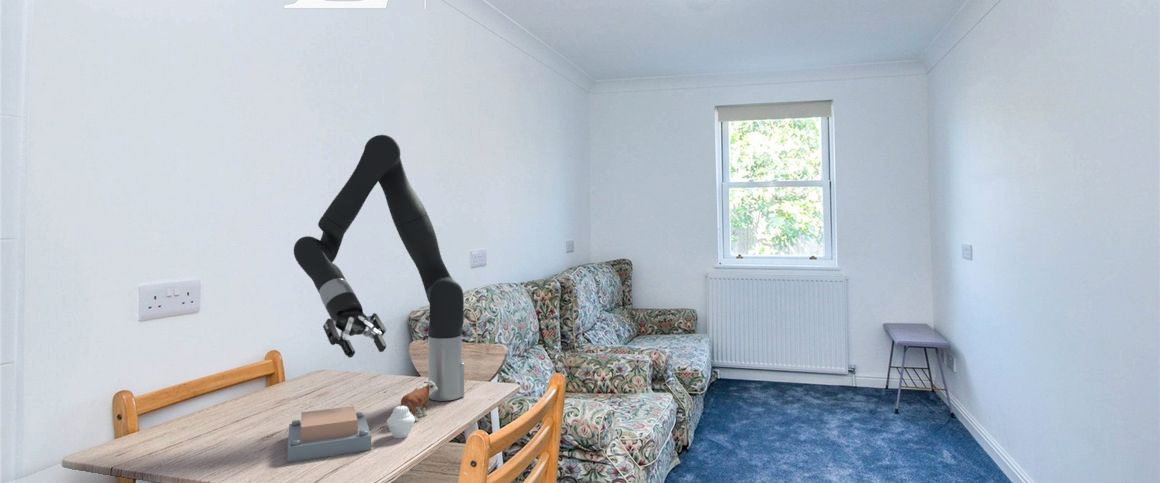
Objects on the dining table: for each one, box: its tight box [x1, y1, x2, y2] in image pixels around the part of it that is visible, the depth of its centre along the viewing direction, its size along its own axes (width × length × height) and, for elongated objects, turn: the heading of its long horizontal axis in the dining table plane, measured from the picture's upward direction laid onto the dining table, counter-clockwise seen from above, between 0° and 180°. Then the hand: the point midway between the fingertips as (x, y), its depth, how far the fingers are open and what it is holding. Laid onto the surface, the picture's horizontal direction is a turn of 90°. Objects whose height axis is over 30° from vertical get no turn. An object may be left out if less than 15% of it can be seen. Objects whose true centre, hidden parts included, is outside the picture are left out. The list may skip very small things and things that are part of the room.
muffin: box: [386, 405, 416, 439], centre depth 134 cm, size 6×6×7 cm
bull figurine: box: [400, 380, 438, 422], centre depth 147 cm, size 4×13×8 cm, turn 161°
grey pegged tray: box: [287, 405, 372, 463], centre depth 129 cm, size 16×16×6 cm
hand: (368, 352), depth 140 cm, fingers open, 8 cm apart
